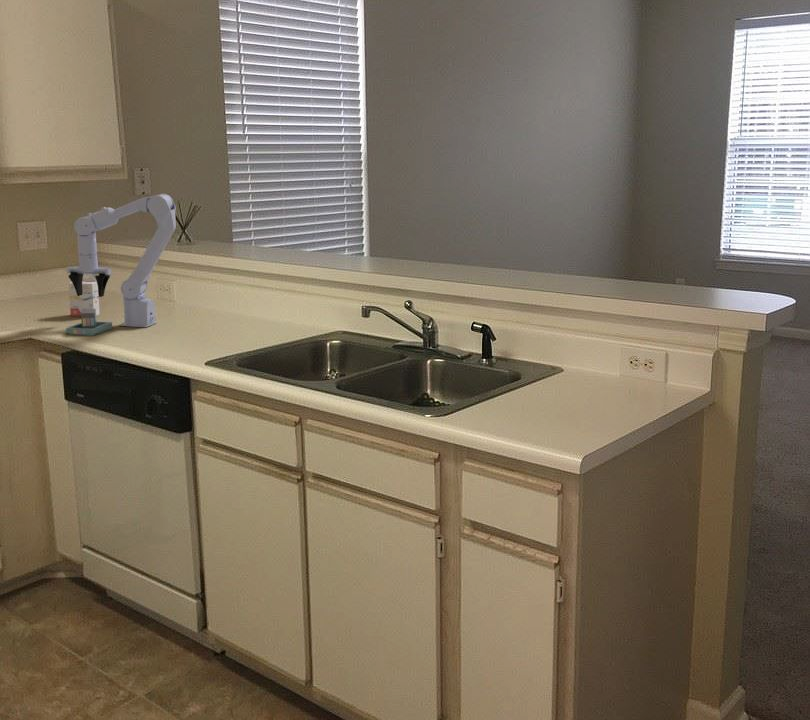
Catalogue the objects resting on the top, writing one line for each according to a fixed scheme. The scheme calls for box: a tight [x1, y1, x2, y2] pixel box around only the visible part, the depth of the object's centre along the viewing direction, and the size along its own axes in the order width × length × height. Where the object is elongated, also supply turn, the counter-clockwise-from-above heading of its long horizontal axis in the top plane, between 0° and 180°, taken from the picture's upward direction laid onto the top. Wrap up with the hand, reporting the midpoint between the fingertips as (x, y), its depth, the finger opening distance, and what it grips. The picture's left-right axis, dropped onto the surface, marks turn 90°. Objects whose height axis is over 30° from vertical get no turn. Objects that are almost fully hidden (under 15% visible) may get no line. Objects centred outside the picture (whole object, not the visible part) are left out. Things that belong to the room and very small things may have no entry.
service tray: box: [65, 320, 113, 337], centre depth 288 cm, size 9×12×2 cm
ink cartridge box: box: [68, 274, 100, 318], centre depth 312 cm, size 9×5×15 cm, turn 84°
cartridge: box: [80, 309, 97, 329], centre depth 287 cm, size 4×7×6 cm, turn 15°
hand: (90, 295), depth 297 cm, fingers open, 7 cm apart
